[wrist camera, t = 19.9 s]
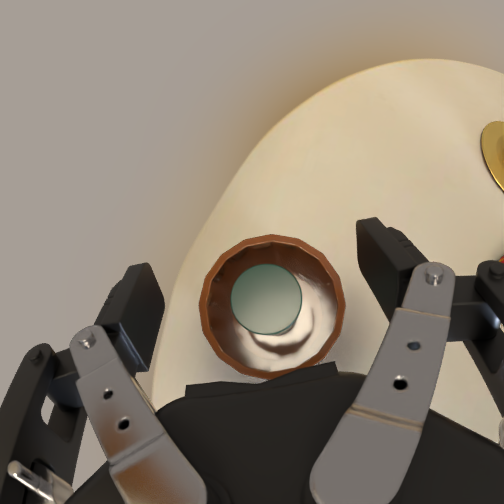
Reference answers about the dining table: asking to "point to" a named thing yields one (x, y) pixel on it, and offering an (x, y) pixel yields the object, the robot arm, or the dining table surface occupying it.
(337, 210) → the dining table surface
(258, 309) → the tall green cylinder
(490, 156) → the cup
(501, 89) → the dining table surface
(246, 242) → the brown cylindrical container
